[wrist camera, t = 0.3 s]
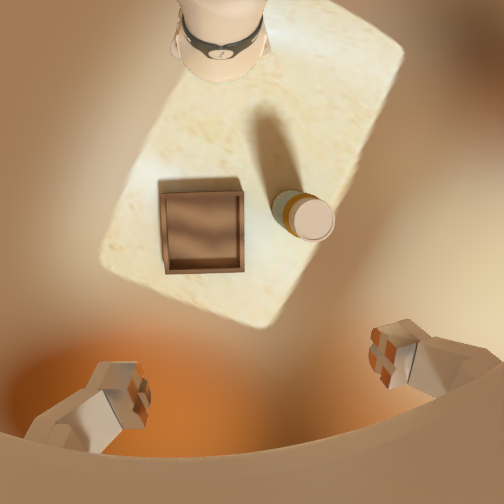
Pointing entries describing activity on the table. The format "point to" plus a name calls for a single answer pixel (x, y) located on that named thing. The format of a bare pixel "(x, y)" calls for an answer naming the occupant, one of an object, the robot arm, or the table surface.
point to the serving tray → (203, 232)
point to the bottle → (303, 215)
